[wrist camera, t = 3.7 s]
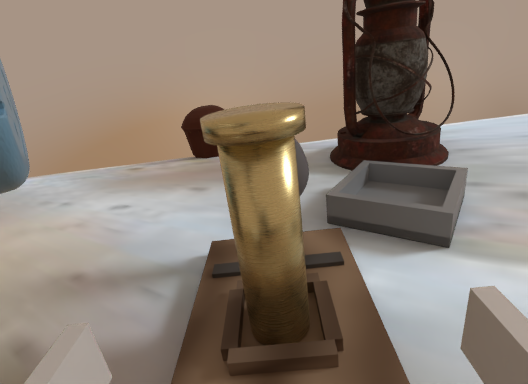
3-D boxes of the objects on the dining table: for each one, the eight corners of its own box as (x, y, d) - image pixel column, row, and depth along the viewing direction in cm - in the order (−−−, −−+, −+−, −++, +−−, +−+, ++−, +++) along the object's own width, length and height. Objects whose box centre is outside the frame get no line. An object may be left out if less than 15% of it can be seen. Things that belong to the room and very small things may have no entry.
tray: (327, 223, 36) (326, 194, 34) (364, 184, 44) (363, 160, 43) (449, 247, 29) (453, 213, 28) (464, 196, 38) (467, 168, 36)
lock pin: (226, 335, 21) (177, 123, 15) (270, 287, 25) (243, 103, 19) (294, 371, 18) (264, 124, 12) (332, 310, 22) (322, 101, 16)
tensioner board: (168, 432, 17) (91, 233, 12) (214, 253, 33) (188, 135, 28) (413, 414, 16) (433, 196, 12) (340, 240, 32) (336, 116, 27)
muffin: (216, 161, 64) (206, 111, 60) (177, 159, 70) (165, 113, 66) (248, 145, 73) (241, 100, 69) (211, 144, 79) (203, 103, 75)
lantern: (388, 183, 44) (396, -91, 32) (309, 156, 60) (296, -34, 48) (475, 152, 51) (508, -82, 39) (384, 135, 67) (388, -35, 55)
